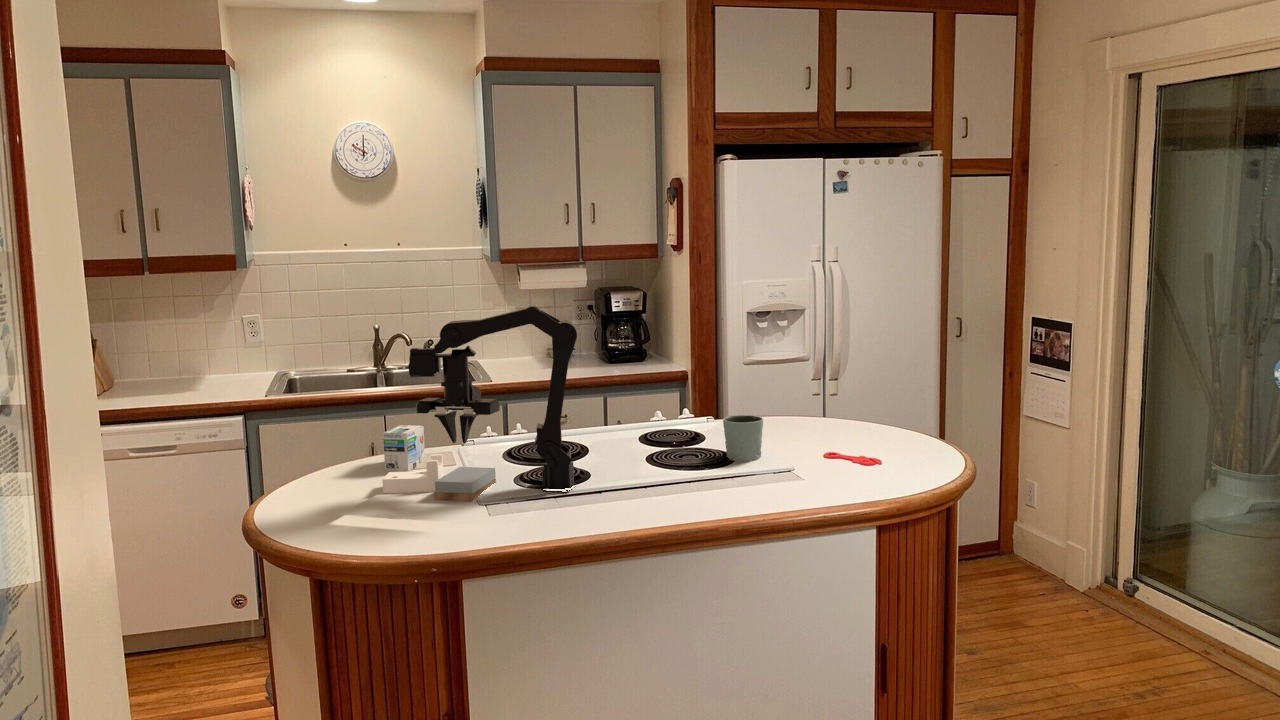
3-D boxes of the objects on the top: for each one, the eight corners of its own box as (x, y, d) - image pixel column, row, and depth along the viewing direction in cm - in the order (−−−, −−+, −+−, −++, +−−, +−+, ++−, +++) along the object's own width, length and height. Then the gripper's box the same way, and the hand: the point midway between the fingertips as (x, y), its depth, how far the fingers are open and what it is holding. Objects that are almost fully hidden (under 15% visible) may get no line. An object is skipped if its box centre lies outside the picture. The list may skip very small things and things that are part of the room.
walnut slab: (496, 489, 233) (495, 478, 232) (471, 505, 219) (470, 494, 219) (461, 487, 235) (461, 477, 235) (434, 502, 222) (434, 492, 221)
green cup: (769, 462, 251) (769, 416, 249) (752, 471, 242) (752, 423, 241) (734, 458, 256) (734, 413, 255) (716, 466, 248) (716, 420, 246)
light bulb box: (408, 475, 246) (406, 433, 244) (384, 474, 247) (381, 432, 246) (426, 465, 256) (424, 424, 255) (402, 464, 257) (400, 424, 256)
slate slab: (495, 478, 233) (495, 467, 233) (472, 493, 219) (472, 482, 219) (460, 476, 235) (459, 466, 235) (435, 492, 221) (434, 481, 221)
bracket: (444, 484, 236) (442, 454, 235) (438, 492, 229) (437, 461, 228) (389, 486, 236) (388, 455, 235) (383, 494, 229) (381, 462, 228)
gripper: (507, 371, 229) (510, 436, 231) (436, 370, 234) (439, 434, 236) (487, 378, 219) (491, 447, 221) (413, 377, 224) (417, 444, 226)
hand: (459, 442), depth 226 cm, fingers closed
